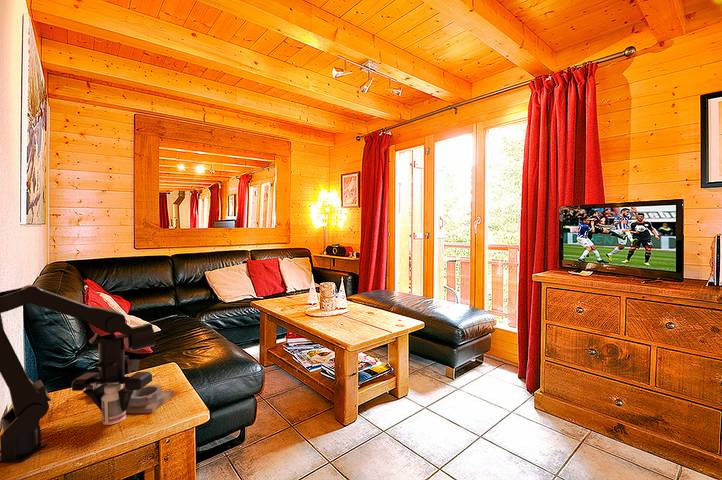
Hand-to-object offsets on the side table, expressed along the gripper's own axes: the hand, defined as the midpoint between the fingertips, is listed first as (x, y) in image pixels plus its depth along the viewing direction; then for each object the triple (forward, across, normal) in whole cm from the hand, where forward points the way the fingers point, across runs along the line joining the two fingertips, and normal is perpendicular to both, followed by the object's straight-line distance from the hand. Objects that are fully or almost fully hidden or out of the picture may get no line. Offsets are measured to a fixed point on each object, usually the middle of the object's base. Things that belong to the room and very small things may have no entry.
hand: (114, 411), depth 95 cm
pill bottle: (+3, 0, 0) cm, 3 cm away
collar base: (+2, -3, -9) cm, 10 cm away
